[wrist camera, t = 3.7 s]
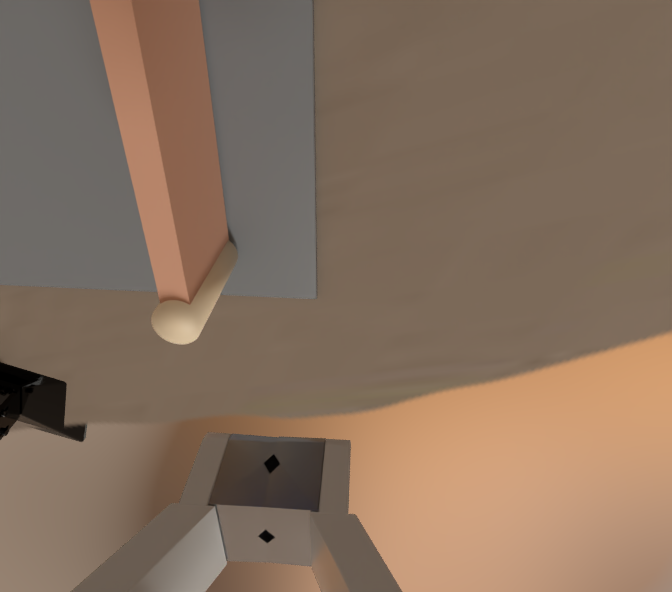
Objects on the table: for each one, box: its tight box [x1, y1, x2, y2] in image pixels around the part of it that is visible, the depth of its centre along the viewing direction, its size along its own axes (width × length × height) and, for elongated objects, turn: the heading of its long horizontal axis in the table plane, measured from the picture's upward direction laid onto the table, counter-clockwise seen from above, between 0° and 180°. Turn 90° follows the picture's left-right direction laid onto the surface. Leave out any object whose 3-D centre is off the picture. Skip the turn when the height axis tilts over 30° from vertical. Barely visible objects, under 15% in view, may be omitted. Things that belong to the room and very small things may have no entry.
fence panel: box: [90, 0, 238, 344], centre depth 18 cm, size 2×13×6 cm, turn 179°
